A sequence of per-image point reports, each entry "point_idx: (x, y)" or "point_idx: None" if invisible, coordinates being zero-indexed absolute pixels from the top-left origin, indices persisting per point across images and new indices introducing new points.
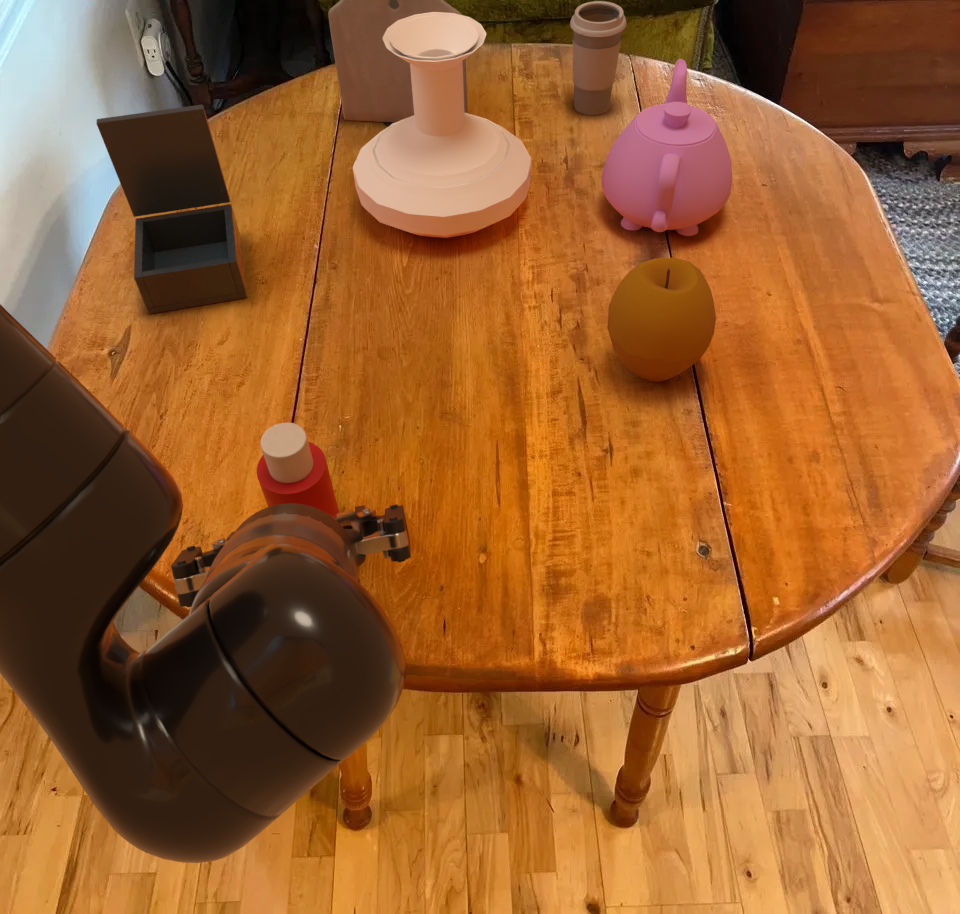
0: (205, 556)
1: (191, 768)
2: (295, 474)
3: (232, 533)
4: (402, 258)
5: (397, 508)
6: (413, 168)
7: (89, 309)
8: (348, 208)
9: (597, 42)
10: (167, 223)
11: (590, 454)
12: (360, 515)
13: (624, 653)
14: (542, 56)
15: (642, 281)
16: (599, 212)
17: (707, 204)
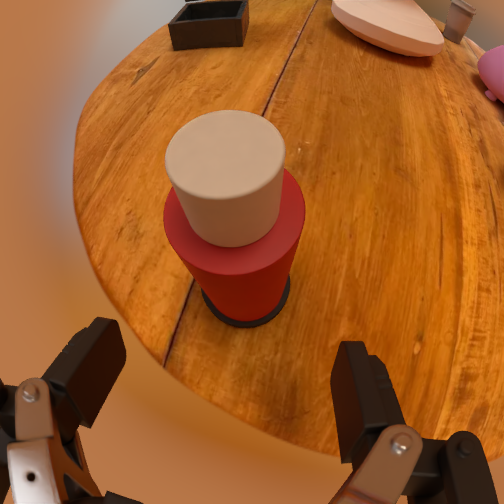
0: (5, 415)
1: None
2: (235, 236)
3: (87, 331)
4: (359, 51)
5: (476, 465)
6: (379, 4)
7: (142, 49)
8: (322, 22)
9: (464, 12)
10: (204, 5)
11: (500, 255)
12: (393, 484)
13: None
14: None
15: None
16: (472, 81)
17: None
